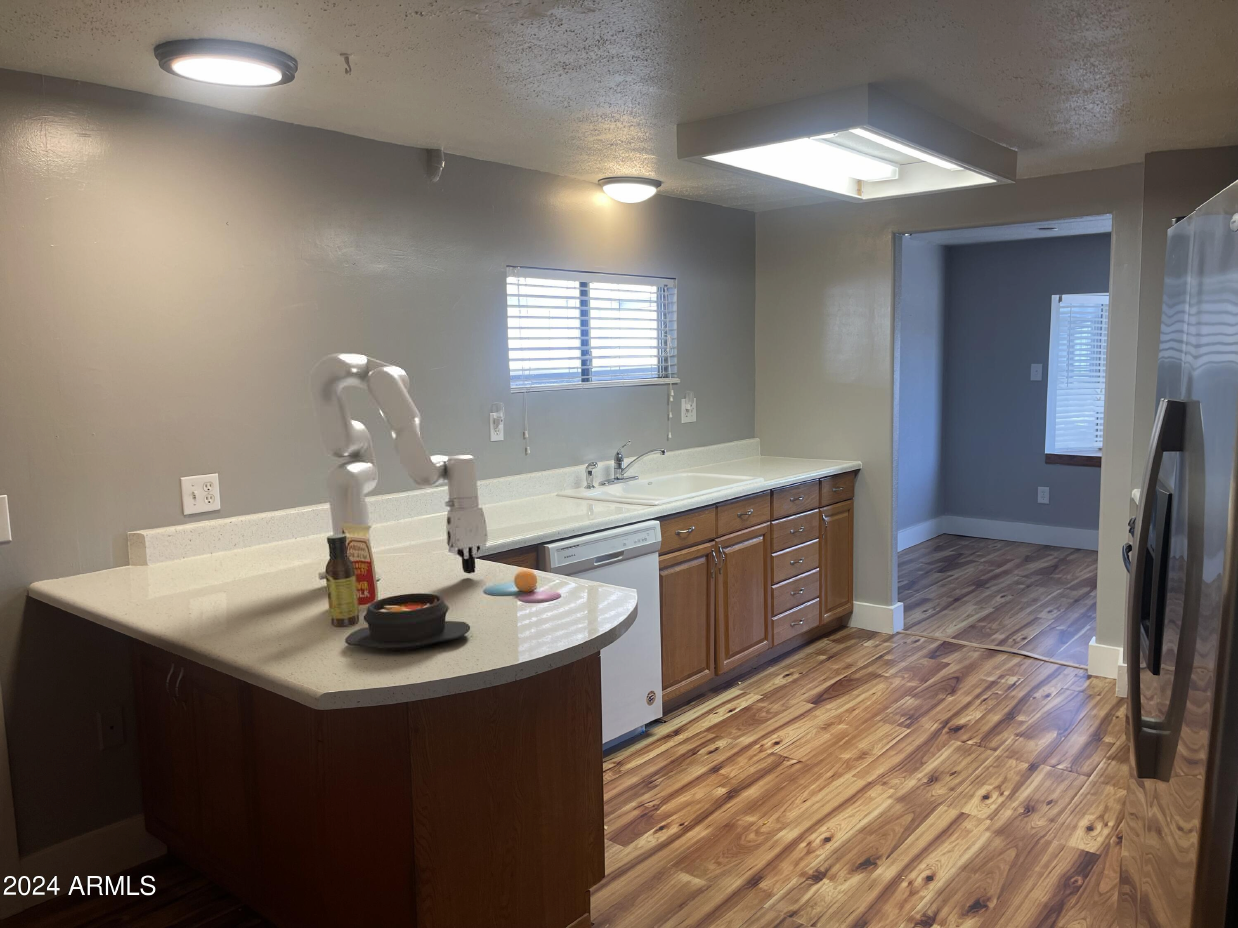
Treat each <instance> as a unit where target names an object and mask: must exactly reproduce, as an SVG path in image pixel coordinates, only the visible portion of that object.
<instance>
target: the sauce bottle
mask: <svg viewBox="0 0 1238 928" xmlns="http://www.w3.org/2000/svg"><path fill="white" fill-rule="evenodd" d="M326 541H327V542H326V543H327V544H328V556H329V560H328V561H327V563H326V564H325V571H324V572H325V575H326V579H325V584H326V592H327V602H328V609H329V610H328V612H329V617H330V623H331V625H332V627H333V626H334V627H337V628H345V627H344V626H346V627H350V626H349V625H352V626H354V624H355V625H356V624H359V623H360V609H359V605H358V596H357V586H356V576H355V572H354V564H353V562H352V561H351V560H350V558H349V557H348V556H347V548H346V541H347V539H346V535H345V534H336V535H333V534H331V535H328V536H326Z"/></svg>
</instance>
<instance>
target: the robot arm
mask: <svg viewBox="0 0 1238 928" xmlns="http://www.w3.org/2000/svg"><path fill="white" fill-rule="evenodd" d="M409 378H410V377H409V376H408V375H407V373H406V372H405V371H404V370H403V369H401V368H400V367H399V366H395V365H392V364H391V363H390V364H389V363H385V362H383V361H381V360H377V359H374V358H372V357H369V356H366V355H363V354H360V353H359V354H358V353H344V352H343V353H333V354H329V355H326V356H325V357H322V359H321V360H319V361H318V362H316V364H314V366H313V368H312V370H311V372H310V374H309V379H308V389H309V395H310V399H311V403H312V407H313V411H314V416H315V423H316V427H317V430H318V436H319V440H320V444H321V448H322V450H323V452H324V454H325V455H327V456H328V457H329V458H333V459H340V462H341V463H338V464H337V465H334V466H333V467H332V468H331V469H330V470H329V472H328V473H327V475H326V477H325V484H324V485H325V492H326V495H327V500H328V504H329V508H330V515H331V516H330V517H331V526H332V535H336V534H342V524H341V523H344V524H350V525H356V526H363V525H371V522H370V514H369V507H368V504H367V501H366V497H365V494H367V493H369V492H371V491H372V490H373V489H375V487H376V486H377V483H378V480H379V472H378V471H379V470H378V465H377V461H376V455H375V452H374V447H373V443H372V439H371V435H370V432H369V431H368V429H367V428H366V426H365V425H364V424H363V423H361V422H360V421H357V420H353V419H352V418H351V415H350V412H349V405H348V402H347V400H346V397H345V396H344V394H343V390H342V389H343V388H344V387H351V386H354V387H359V388H362V389H365V390H367V391H368V394H369V395H370V397H371V399H372V400H373V403H374V404H375V406H376V407H377V409H378V410H379V412H380V414H381V416H382V417H383V419H384V422H385V423H386V424H387V426H388V428H389V430H390V434H391V439H392V442H393V445H394V450H395V453H396V455H397V458H398V460H399V462H400V463H401V465H402V467H403V469H404V471H405V472H406V474H407V476H408V477H409V479H410V480H411V482H412V483H413V484H415V486H418V487H419V488H423V489H429V488H432V487H435V486H437V485H440V484H443V483H447V489H448V492H447V493H448V500H447V501H445V502H444V505H445V507H446V508H449V509H447V513H446V523H445V525H446V526H445V527H446V529H445V530H446V531H445V534H446V544H447V546H448V553H449V554H453V555H454V554H456V555H458V556H459V558H461V566H462V567H461V568H462V570H463V573H465V574H468V575H470V574H474V573H476V557H477V554H478V552H479V551H480V550H481V549H483V548H485V547H486V546H487V543H488V541H489V540H488V538H489V535H488V534H489V533H488V527H487V526H488V525H487V522H486V516H485V512H484V509H483V507H482V506H481V505H480V503H479V489H478V474H477V463H476V459H475V457H474V456H472V455H469V454H461V455H459V454H458V455H453V456H450V455H449V456H448V455H438V454H437V455H430V454H429V452H428V451H427V449H426V447H425V445H424V442H423V439H422V438H421V437H422V436H421V433H420V431H421V430H420V428H421V427H420V426H421V419H422V418H421V414H420V412H419V410H418V409H417V407H416V405H415V404H414V402H413V400H412V398H411V396H410V395H409V393H408V391H409V389H410V379H409ZM371 534H372V533H371V529H370V530H369V540H370V545H371V550H372V551H373V545H372V535H371ZM375 572H376V579H377V581H378V580H380V579H381V573H380V572H379V571H375ZM317 575H318V576H317V577H318V579H319V581H322V580H326V575H325V571H321V572H318V573H317Z"/></svg>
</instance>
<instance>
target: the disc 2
mask: <svg viewBox="0 0 1238 928" xmlns="http://www.w3.org/2000/svg"><path fill="white" fill-rule="evenodd" d="M561 597H562V593H560V592H559V591H553V590H537V591H536V590H534V591H531V592H527V593H523V594H520V596H518V600H519V601H521V602H522V603H531V604H532V603H535V604H536V603H547V602H553V601H555V600H558V599H559V598H561Z"/></svg>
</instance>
